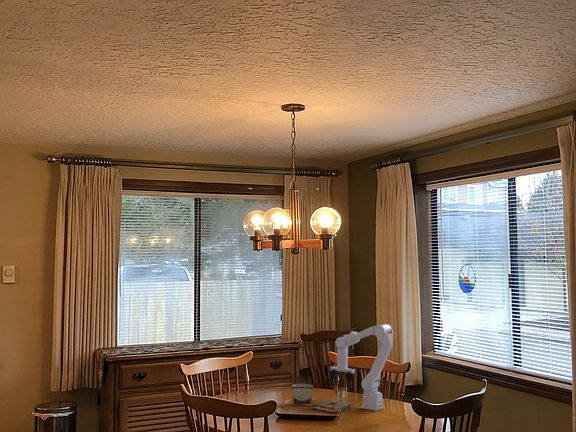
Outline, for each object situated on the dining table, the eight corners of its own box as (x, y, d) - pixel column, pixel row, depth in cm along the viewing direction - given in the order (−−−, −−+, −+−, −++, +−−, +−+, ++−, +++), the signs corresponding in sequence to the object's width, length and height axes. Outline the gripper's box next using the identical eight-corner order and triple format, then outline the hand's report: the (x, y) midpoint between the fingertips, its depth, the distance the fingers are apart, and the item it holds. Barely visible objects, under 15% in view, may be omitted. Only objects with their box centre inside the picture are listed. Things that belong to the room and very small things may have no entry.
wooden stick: (345, 403, 322) (345, 388, 322) (342, 404, 320) (342, 389, 320) (341, 402, 323) (341, 387, 324) (338, 403, 321) (338, 388, 322)
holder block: (350, 408, 310) (350, 403, 310) (335, 413, 299) (335, 408, 299) (328, 404, 318) (328, 399, 319) (312, 408, 307) (312, 403, 308)
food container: (314, 403, 321) (314, 384, 322) (313, 405, 315) (314, 386, 316) (291, 402, 323) (291, 383, 324) (290, 404, 316) (290, 385, 317)
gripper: (327, 358, 325) (326, 384, 324) (349, 362, 316) (349, 388, 315) (334, 357, 330) (333, 382, 329) (356, 360, 321) (356, 386, 320)
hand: (341, 385), depth 322 cm, fingers open, 7 cm apart
